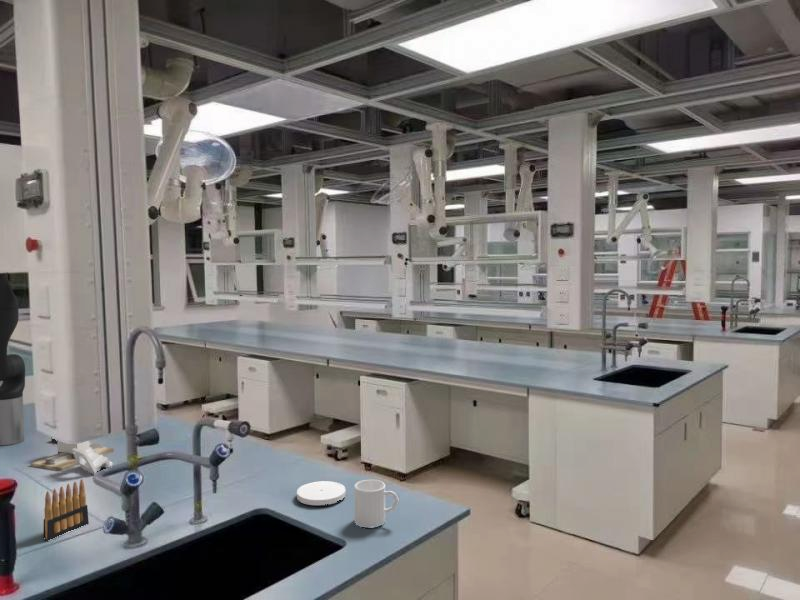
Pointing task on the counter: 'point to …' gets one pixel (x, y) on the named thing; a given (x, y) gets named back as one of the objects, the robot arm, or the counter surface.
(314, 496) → the plastic lid
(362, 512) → the mug
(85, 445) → the block
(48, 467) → the rail board
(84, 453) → the mounting bracket
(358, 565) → the counter surface
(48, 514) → the ammunition clip
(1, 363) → the robot arm
